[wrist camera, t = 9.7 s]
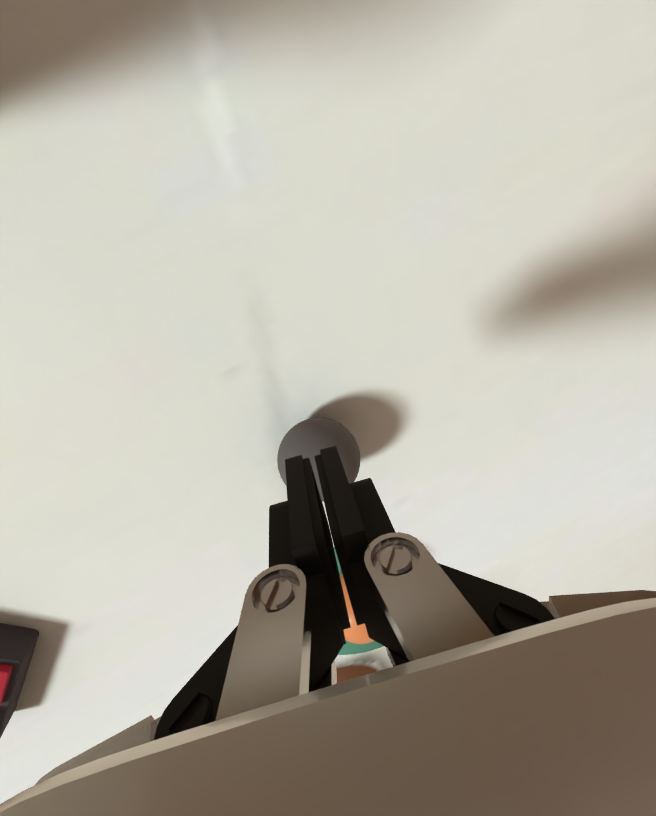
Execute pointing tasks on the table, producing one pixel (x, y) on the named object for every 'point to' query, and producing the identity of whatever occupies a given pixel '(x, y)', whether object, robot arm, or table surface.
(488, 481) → the table surface
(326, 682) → the robot arm
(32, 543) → the table surface
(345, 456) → the ball
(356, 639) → the ball
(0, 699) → the calculator
